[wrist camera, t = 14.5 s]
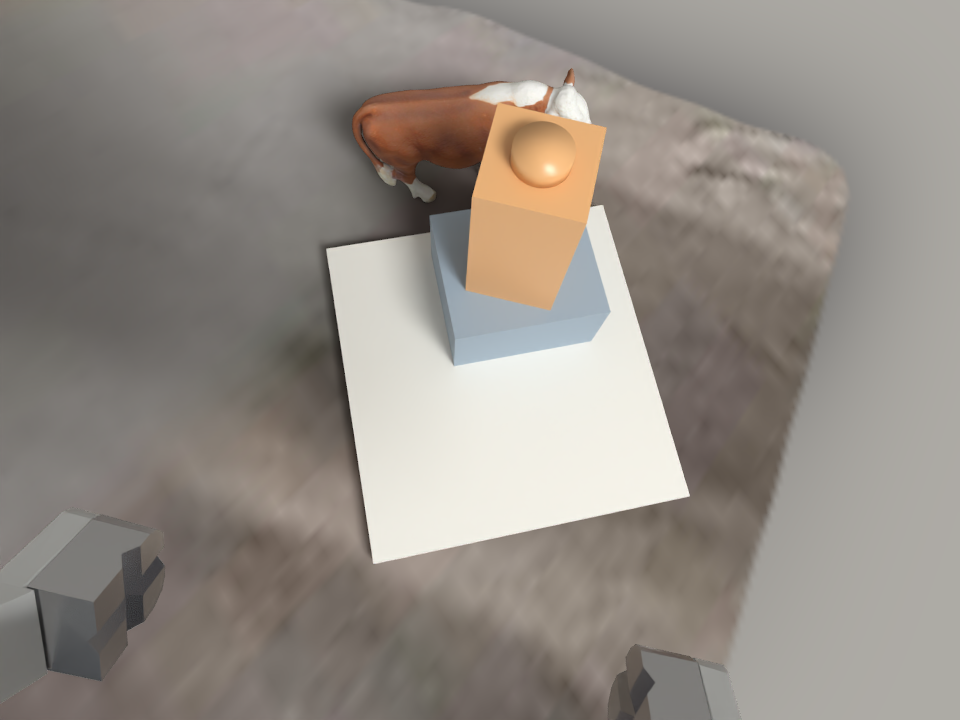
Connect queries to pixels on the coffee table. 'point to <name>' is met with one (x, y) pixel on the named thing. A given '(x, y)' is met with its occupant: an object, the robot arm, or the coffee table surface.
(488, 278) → the tall brick
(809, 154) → the coffee table surface
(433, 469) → the baseplate
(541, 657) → the coffee table surface
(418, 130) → the bull figurine
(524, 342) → the base block
